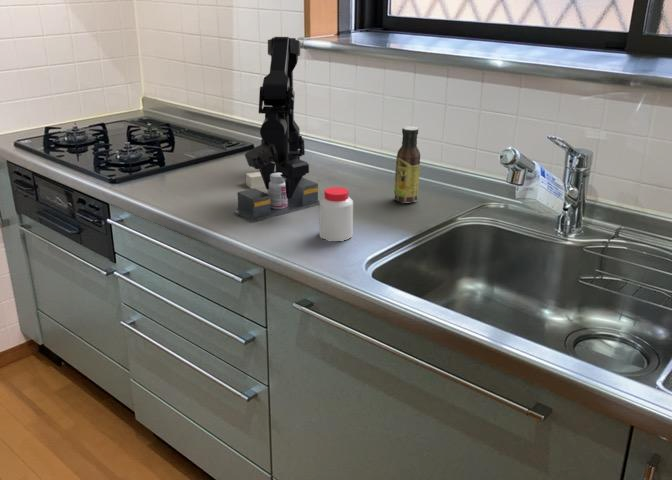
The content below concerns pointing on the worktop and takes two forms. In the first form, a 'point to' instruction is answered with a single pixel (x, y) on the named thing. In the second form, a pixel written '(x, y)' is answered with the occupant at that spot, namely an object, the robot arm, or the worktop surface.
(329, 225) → the pill bottle
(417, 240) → the worktop surface
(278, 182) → the pill bottle
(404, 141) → the sauce bottle
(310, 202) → the dark grey block rack
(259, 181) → the cream rectangular block
